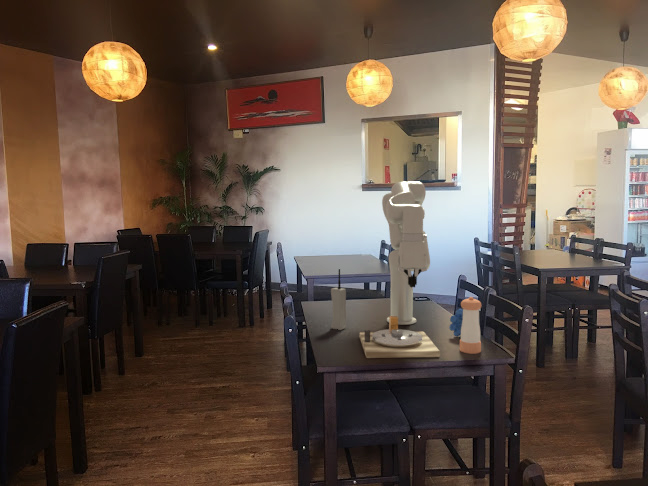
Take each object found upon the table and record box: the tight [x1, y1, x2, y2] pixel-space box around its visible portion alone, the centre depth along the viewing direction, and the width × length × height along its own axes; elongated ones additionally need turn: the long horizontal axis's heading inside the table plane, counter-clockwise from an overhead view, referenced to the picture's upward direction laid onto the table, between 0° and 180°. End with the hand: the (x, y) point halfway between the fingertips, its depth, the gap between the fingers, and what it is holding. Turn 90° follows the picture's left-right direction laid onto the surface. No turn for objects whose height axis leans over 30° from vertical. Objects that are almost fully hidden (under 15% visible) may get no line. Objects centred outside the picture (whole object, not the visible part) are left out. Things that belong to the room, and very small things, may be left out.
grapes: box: [448, 308, 480, 337], centre depth 196 cm, size 12×7×12 cm, turn 90°
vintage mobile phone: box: [330, 268, 347, 331], centre depth 208 cm, size 4×5×25 cm
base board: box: [359, 329, 441, 359], centre depth 184 cm, size 25×25×6 cm
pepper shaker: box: [459, 296, 483, 355], centre depth 178 cm, size 7×7×19 cm
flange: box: [372, 315, 422, 347], centre depth 184 cm, size 18×18×6 cm
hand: (412, 286), depth 190 cm, fingers closed
